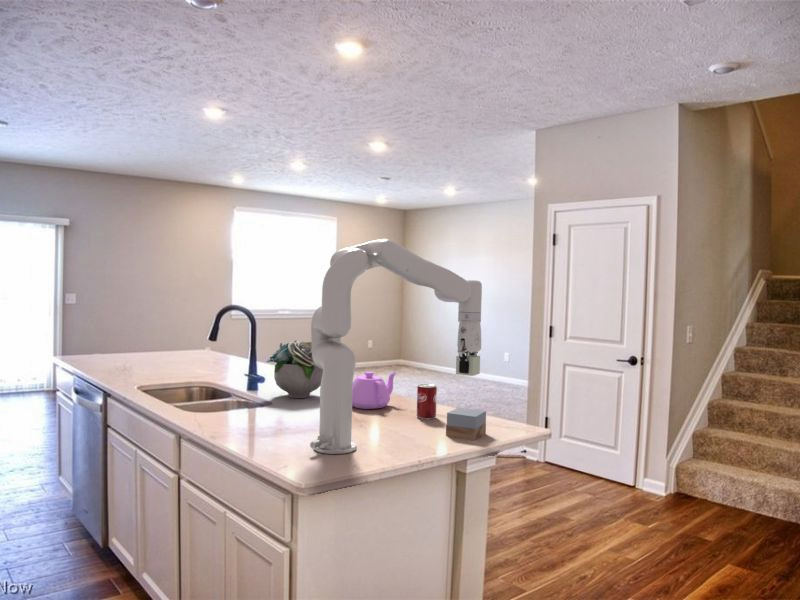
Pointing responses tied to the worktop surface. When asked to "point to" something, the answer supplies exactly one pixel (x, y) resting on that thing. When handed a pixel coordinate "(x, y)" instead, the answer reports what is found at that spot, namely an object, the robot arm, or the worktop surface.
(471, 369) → the sage block
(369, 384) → the teapot
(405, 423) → the worktop surface
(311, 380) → the flower arrangement
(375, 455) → the worktop surface
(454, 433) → the block bottom
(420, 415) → the soda can
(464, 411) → the block top
